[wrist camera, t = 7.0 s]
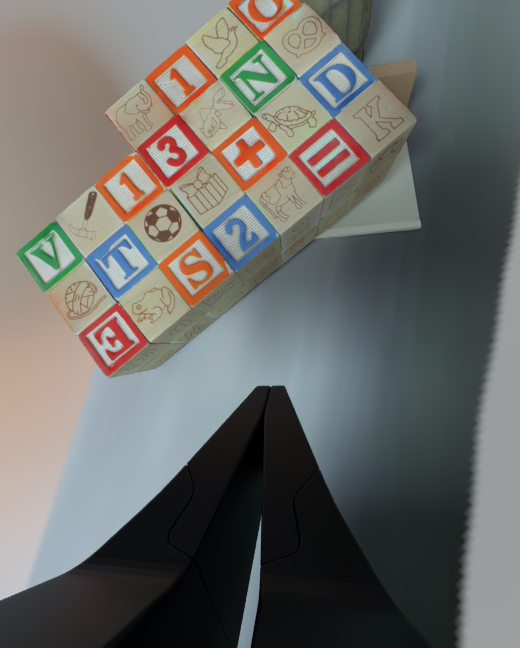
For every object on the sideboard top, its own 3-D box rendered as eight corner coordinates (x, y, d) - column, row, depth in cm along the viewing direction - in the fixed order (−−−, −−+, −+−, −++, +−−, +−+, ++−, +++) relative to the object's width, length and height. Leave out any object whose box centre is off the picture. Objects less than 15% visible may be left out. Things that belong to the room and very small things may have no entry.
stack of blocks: (105, 383, 17) (-16, 216, 18) (156, 372, 23) (63, 248, 24) (421, 116, 16) (266, -39, 17) (385, 180, 22) (274, 63, 23)
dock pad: (420, 229, 22) (440, 190, 18) (230, 247, 25) (214, 216, 21) (400, 112, 25) (414, 58, 21) (234, 138, 28) (221, 95, 24)
